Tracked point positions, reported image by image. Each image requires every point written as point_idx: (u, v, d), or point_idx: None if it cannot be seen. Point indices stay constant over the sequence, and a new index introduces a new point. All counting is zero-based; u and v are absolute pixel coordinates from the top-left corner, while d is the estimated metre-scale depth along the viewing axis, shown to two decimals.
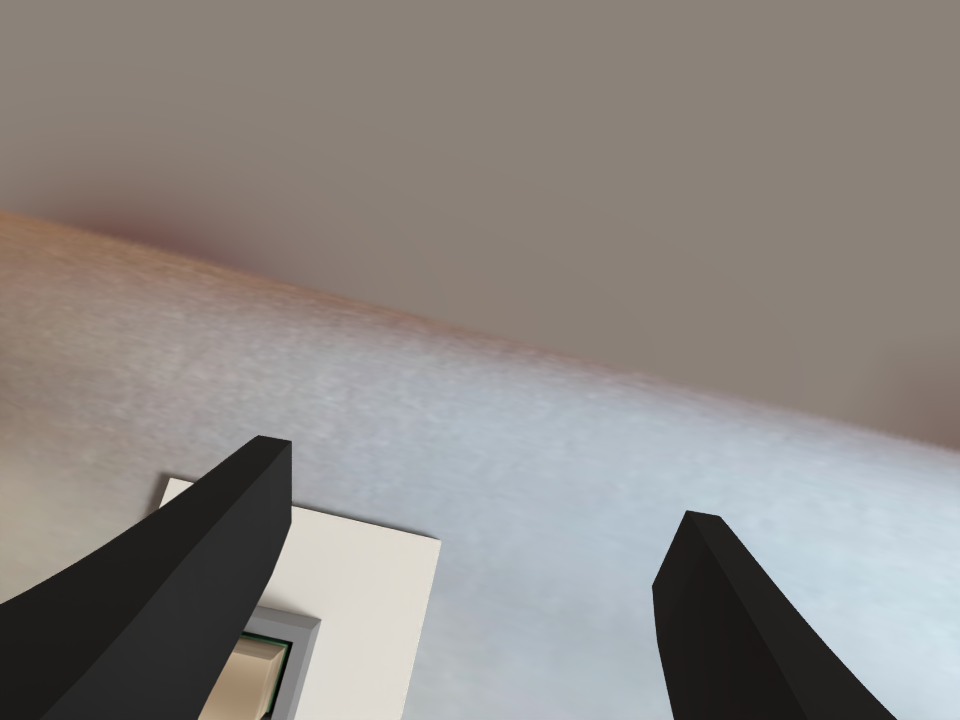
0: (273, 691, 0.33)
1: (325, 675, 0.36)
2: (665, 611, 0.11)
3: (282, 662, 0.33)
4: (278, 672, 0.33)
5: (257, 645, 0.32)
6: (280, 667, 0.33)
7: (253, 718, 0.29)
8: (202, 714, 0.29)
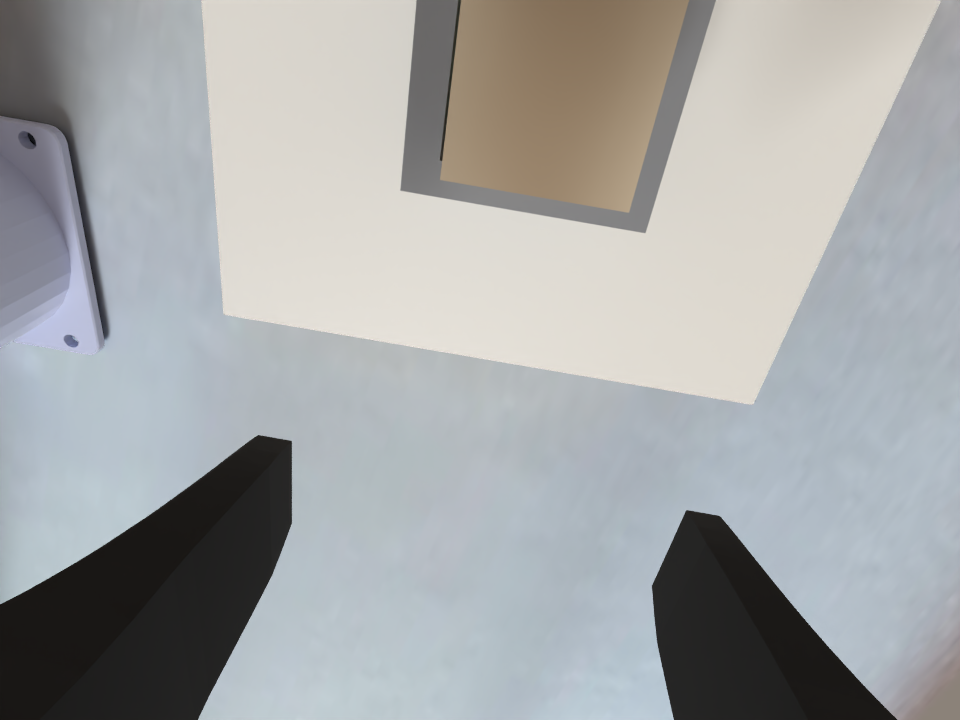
0: None
1: (511, 211, 0.17)
2: (665, 611, 0.11)
3: None
4: None
5: None
6: None
7: (473, 183, 0.10)
8: (480, 18, 0.09)
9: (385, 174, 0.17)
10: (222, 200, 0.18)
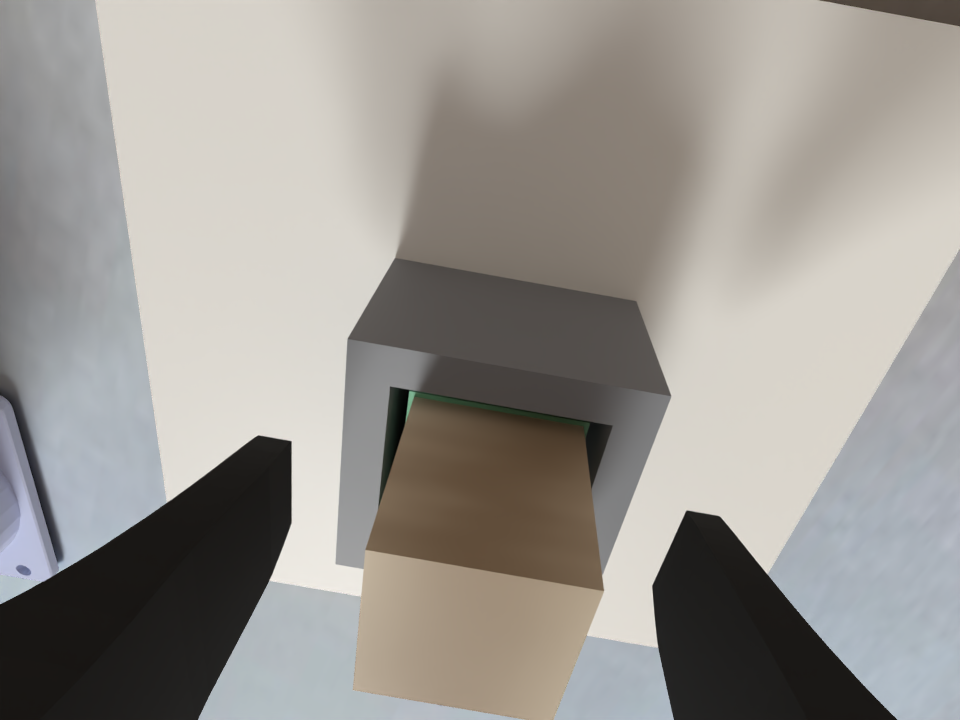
0: None
1: None
2: (665, 610, 0.11)
3: None
4: None
5: None
6: None
7: (389, 690, 0.09)
8: (383, 593, 0.08)
9: (335, 462, 0.17)
10: (170, 475, 0.17)
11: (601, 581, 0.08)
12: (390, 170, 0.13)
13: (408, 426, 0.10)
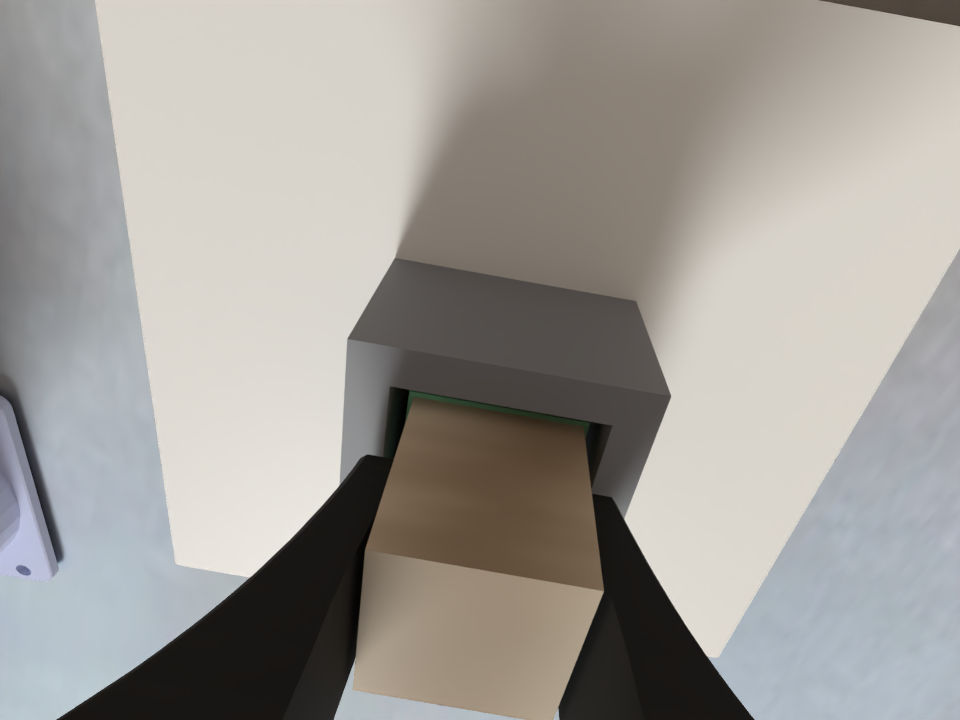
0: None
1: None
2: None
3: None
4: None
5: None
6: None
7: (388, 690, 0.09)
8: (383, 593, 0.08)
9: (335, 462, 0.17)
10: (170, 475, 0.17)
11: (601, 581, 0.08)
12: (390, 170, 0.13)
13: (408, 426, 0.10)
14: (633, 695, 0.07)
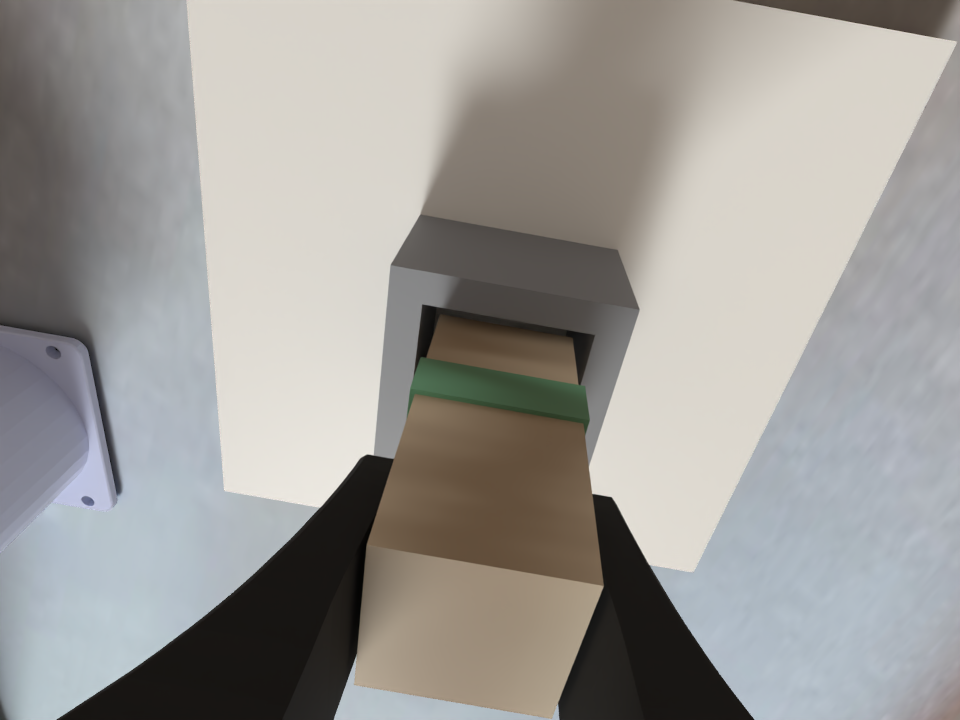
0: None
1: None
2: None
3: None
4: None
5: None
6: None
7: (390, 685, 0.10)
8: (384, 588, 0.08)
9: (365, 394, 0.20)
10: (223, 407, 0.20)
11: (600, 576, 0.08)
12: (417, 141, 0.16)
13: (409, 423, 0.10)
14: (633, 694, 0.07)
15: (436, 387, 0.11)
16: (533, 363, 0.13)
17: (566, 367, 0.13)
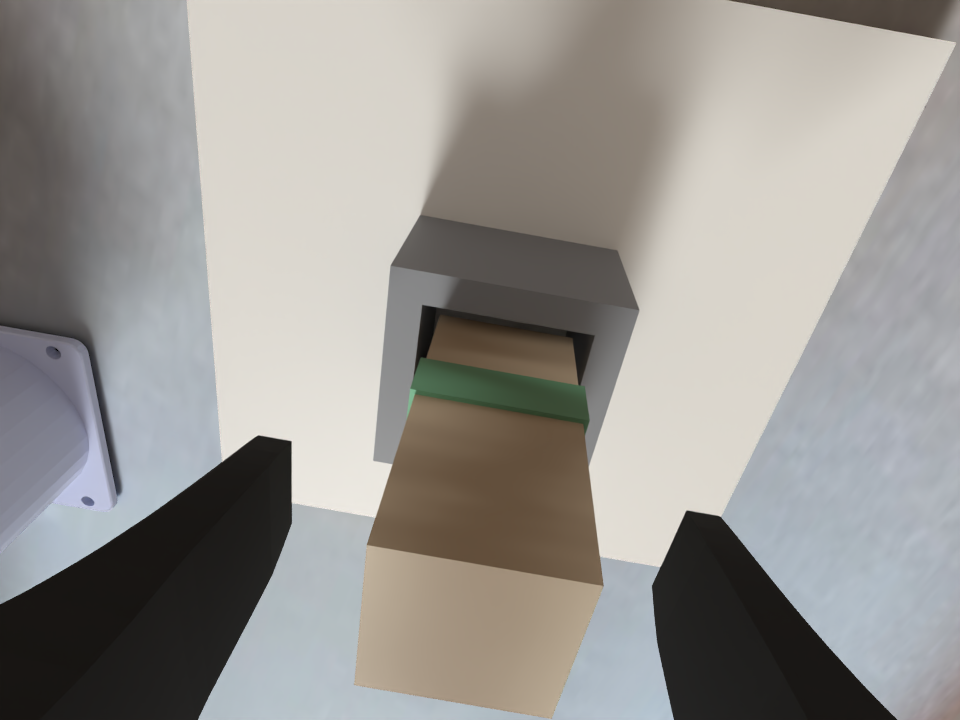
0: None
1: None
2: (665, 611, 0.11)
3: None
4: None
5: None
6: None
7: (390, 685, 0.10)
8: (384, 588, 0.08)
9: (365, 394, 0.20)
10: (223, 408, 0.20)
11: (600, 575, 0.08)
12: (417, 141, 0.16)
13: (409, 423, 0.10)
14: None
15: (436, 388, 0.11)
16: (533, 364, 0.13)
17: (566, 367, 0.13)
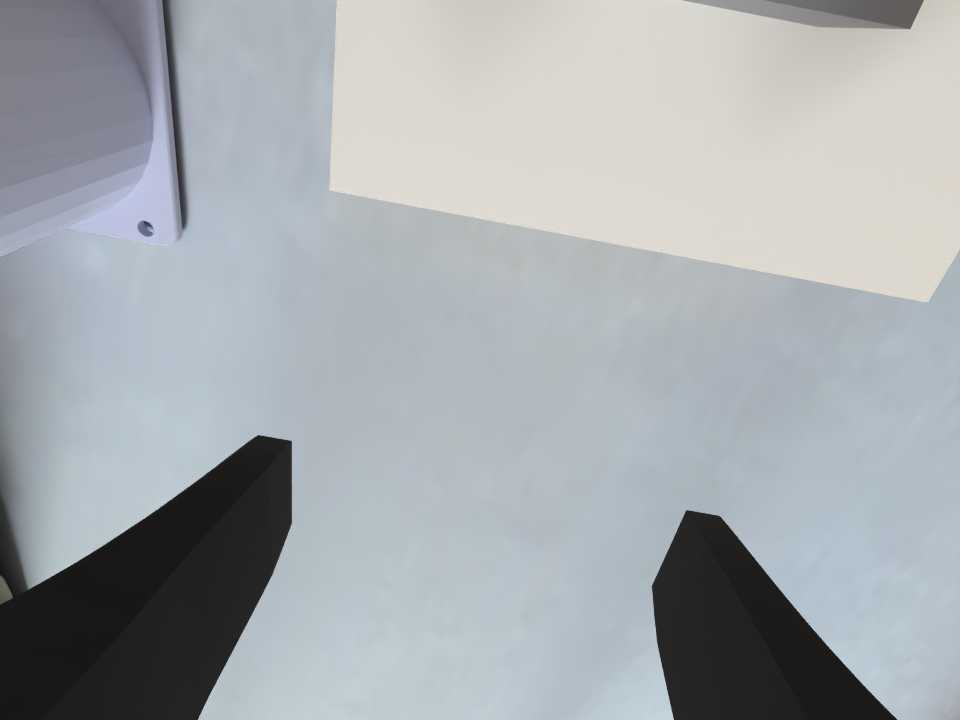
0: None
1: (684, 55, 0.15)
2: (665, 610, 0.11)
3: None
4: None
5: None
6: None
7: None
8: None
9: (540, 8, 0.15)
10: (343, 42, 0.15)
11: None
12: None
13: None
14: None
15: None
16: None
17: None
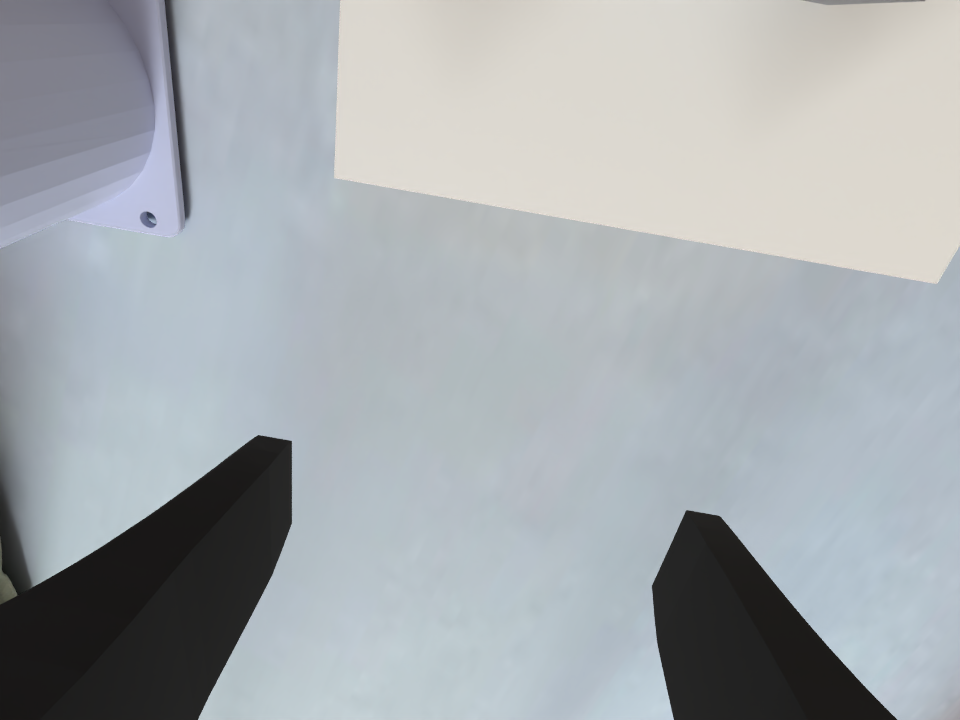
0: None
1: (692, 35, 0.15)
2: (665, 611, 0.11)
3: None
4: None
5: None
6: None
7: None
8: None
9: None
10: (347, 26, 0.15)
11: None
12: None
13: None
14: None
15: None
16: None
17: None
